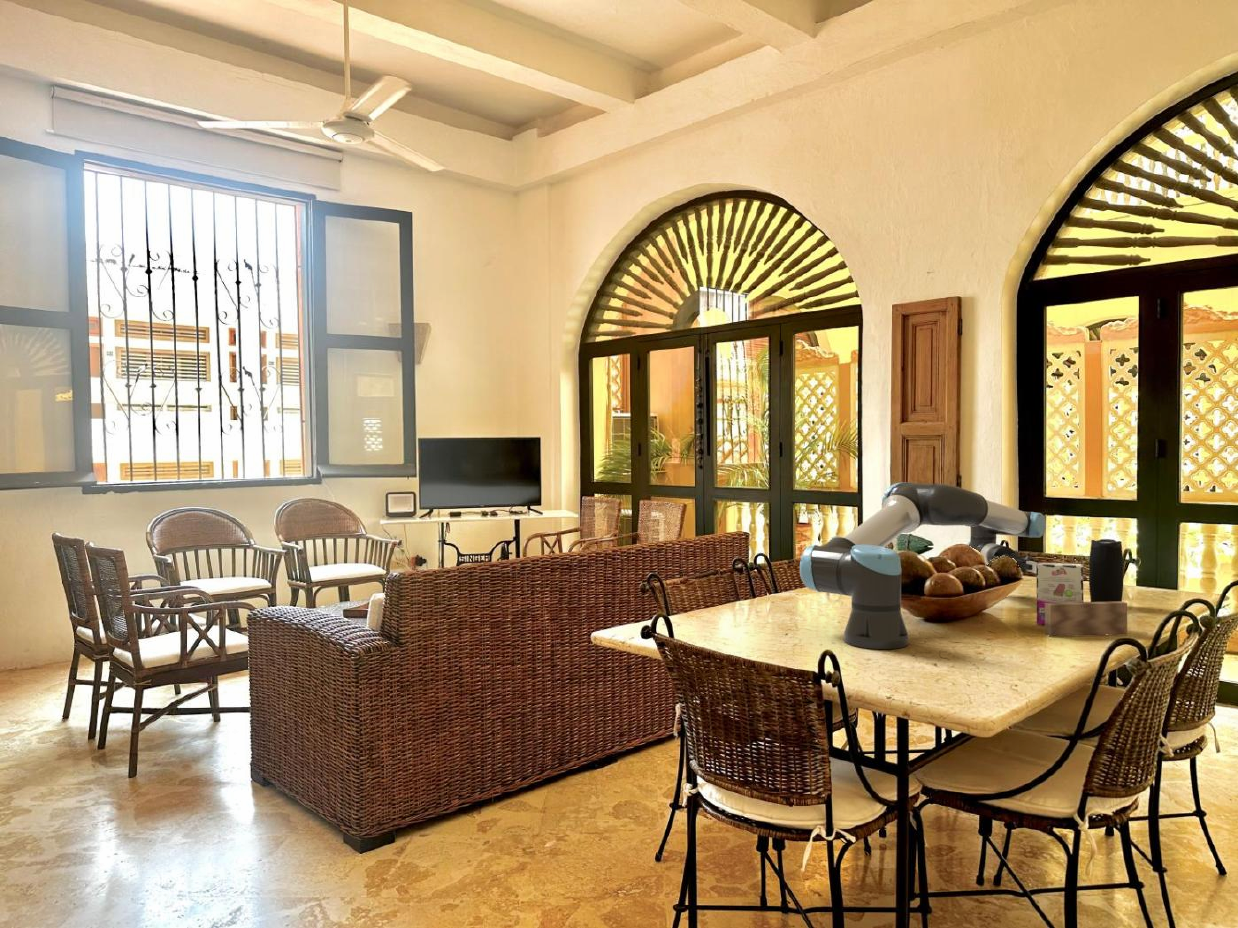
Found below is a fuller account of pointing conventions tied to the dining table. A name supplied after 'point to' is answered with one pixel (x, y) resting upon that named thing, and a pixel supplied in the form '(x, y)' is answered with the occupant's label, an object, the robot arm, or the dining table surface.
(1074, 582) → the candy bar box
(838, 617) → the dining table surface
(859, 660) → the dining table surface
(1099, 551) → the portable speaker
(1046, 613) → the walnut board
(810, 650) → the dining table surface
